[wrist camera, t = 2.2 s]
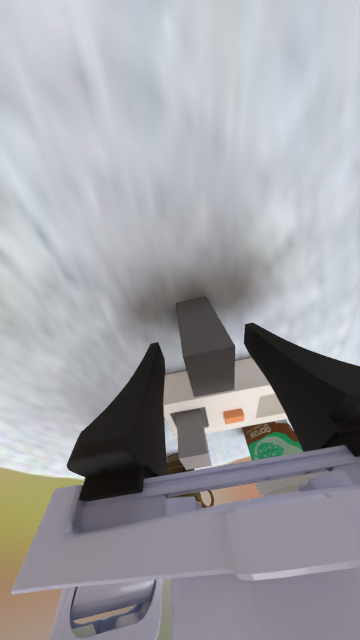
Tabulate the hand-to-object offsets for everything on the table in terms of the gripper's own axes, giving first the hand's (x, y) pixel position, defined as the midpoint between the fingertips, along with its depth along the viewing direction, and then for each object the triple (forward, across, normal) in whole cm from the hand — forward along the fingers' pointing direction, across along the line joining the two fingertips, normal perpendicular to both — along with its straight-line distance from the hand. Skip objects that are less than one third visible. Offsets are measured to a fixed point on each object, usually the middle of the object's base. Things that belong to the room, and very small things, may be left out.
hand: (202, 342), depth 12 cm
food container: (+4, -9, +29) cm, 31 cm away
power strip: (+4, -2, +13) cm, 14 cm away
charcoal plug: (+3, +3, +13) cm, 14 cm away
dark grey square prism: (+4, 0, 0) cm, 4 cm away
